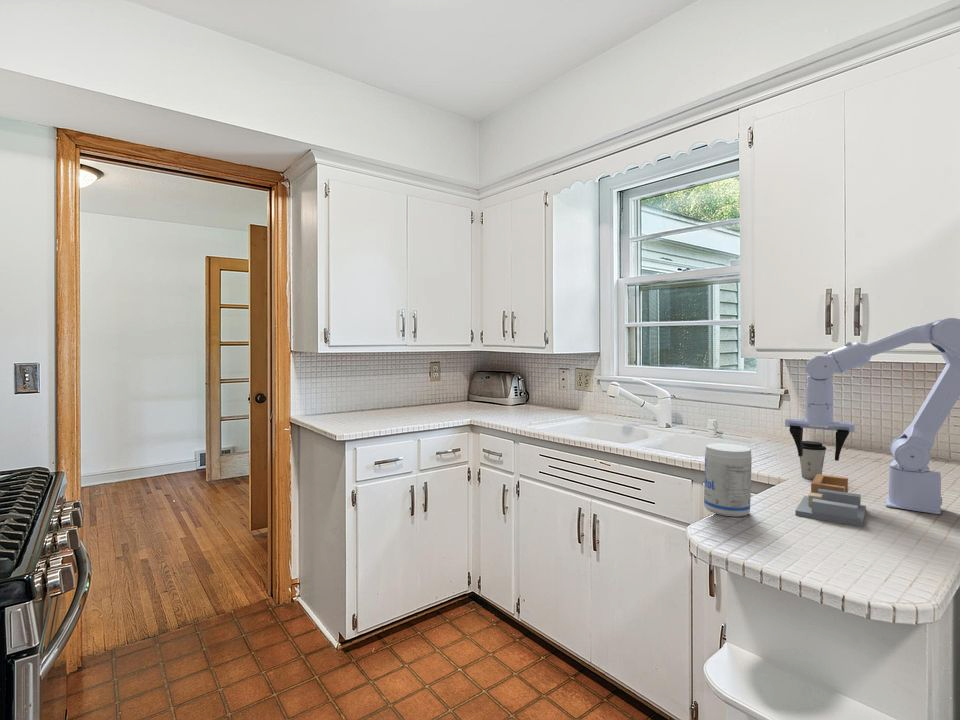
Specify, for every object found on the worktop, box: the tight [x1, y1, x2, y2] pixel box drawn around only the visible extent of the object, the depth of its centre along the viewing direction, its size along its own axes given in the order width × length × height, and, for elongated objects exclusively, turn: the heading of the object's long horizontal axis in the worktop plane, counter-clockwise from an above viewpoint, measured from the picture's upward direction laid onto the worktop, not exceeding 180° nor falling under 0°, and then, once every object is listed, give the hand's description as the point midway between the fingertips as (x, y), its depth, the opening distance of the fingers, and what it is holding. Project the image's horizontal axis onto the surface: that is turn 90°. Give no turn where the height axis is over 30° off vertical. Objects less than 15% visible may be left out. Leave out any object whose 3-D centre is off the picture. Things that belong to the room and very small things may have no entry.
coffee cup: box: [799, 440, 827, 480], centre depth 147 cm, size 7×7×10 cm
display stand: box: [795, 489, 867, 528], centre depth 116 cm, size 12×14×4 cm
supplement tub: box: [703, 442, 753, 518], centre depth 117 cm, size 10×10×15 cm
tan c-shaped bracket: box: [810, 473, 849, 493], centre depth 128 cm, size 7×12×4 cm, turn 141°
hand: (818, 457), depth 130 cm, fingers open, 7 cm apart
